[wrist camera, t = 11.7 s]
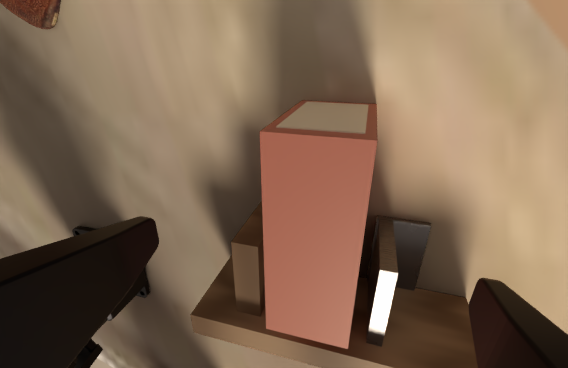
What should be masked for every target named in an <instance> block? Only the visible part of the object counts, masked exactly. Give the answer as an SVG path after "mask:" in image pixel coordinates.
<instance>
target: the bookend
mask: <svg viewBox="0 0 568 368" xmlns="http://www.w3.org/2000/svg"><path fill="white" fill-rule="evenodd" d="M430 229H431V224H430V223H425V222H418V221H411V220H405V219H398V218H391V217H384V216H377V220H376V226H375V232H374V238H373V244H372V250H371V256H370V262H369V268H368V274H367V282H368V304H367V334H366V343H368V344H372V345H376V346H380V347H382V344H383V339H384V335H385V330H386V326H387V321H388V317H389V312H390V308H391V303H392V299H393V294H394V290H395V287H397V288H402V289H407V290H412V291H414V290H415V286H416V282H417V278H418V275H419V271H420V267H421V263H422V259H423V255H424V252H425V248H426V244H427V240H428V236H429V232H430Z"/></svg>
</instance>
